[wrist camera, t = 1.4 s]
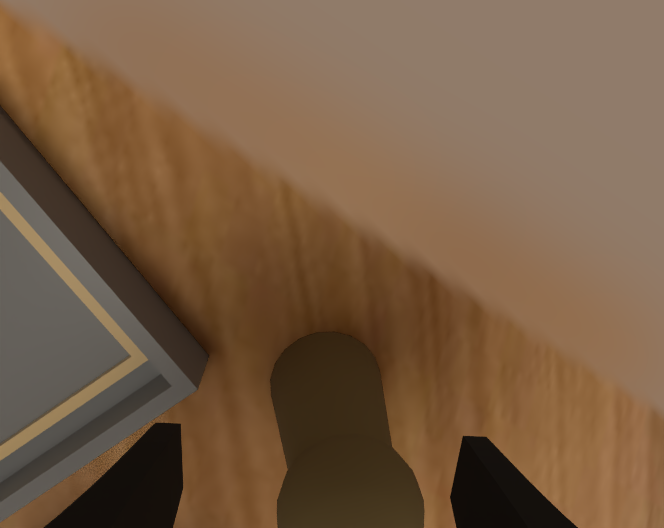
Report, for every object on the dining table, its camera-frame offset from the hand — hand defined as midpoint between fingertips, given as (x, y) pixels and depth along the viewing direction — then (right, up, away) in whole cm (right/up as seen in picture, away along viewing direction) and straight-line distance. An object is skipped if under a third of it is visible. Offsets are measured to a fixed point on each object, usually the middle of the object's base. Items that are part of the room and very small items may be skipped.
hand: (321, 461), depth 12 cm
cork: (0, -1, +14) cm, 14 cm away
